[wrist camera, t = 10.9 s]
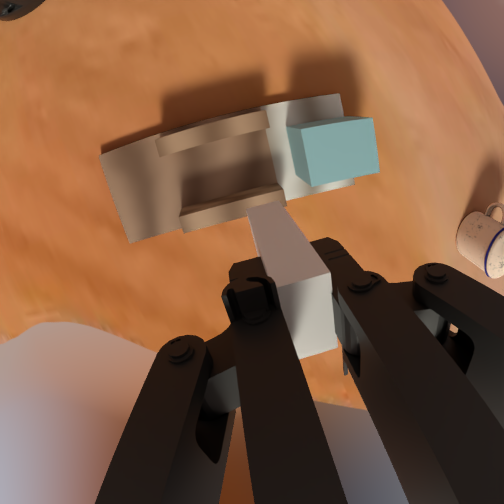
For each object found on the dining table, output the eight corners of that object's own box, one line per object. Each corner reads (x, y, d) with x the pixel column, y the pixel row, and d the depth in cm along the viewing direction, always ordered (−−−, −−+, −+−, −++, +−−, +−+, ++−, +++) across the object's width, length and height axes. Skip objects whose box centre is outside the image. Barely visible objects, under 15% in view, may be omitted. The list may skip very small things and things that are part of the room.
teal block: (295, 174, 36) (311, 187, 30) (285, 126, 34) (300, 129, 28) (355, 162, 36) (379, 172, 31) (347, 116, 34) (372, 117, 28)
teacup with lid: (477, 256, 48) (516, 286, 37) (448, 255, 46) (490, 288, 36) (494, 197, 43) (539, 220, 32) (466, 190, 41) (515, 213, 31)
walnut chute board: (131, 240, 39) (123, 255, 35) (101, 154, 33) (87, 160, 29) (351, 182, 39) (366, 191, 35) (336, 93, 34) (351, 91, 30)
